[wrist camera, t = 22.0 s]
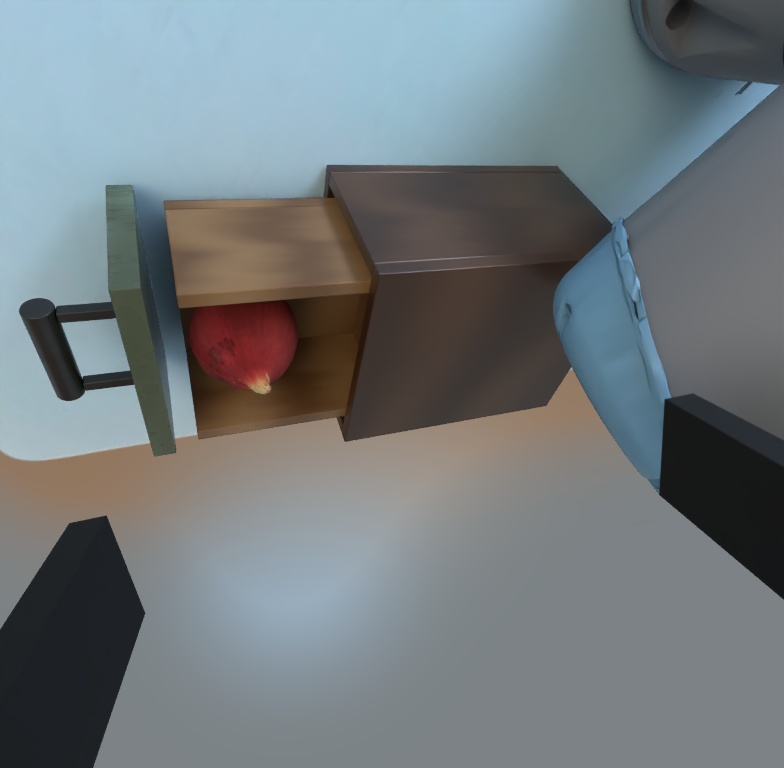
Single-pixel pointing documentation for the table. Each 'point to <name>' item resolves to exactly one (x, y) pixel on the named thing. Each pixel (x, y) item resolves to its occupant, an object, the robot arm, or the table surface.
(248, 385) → the onion
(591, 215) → the cabinet
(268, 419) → the drawer
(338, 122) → the table surface
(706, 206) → the robot arm
